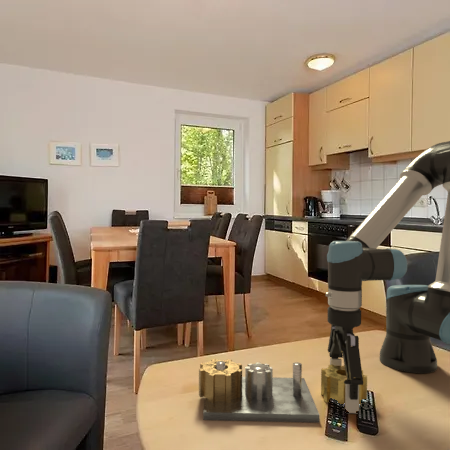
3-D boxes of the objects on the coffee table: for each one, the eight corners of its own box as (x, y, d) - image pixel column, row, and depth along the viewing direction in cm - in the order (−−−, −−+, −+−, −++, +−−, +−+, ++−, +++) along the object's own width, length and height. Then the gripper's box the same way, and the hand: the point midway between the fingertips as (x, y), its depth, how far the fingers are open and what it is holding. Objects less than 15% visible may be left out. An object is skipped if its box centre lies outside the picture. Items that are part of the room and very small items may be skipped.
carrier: (304, 384, 95) (304, 350, 95) (319, 422, 77) (319, 381, 77) (209, 382, 96) (209, 349, 96) (203, 419, 78) (203, 378, 78)
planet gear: (358, 389, 92) (358, 364, 92) (372, 409, 83) (372, 382, 82) (317, 388, 93) (318, 364, 93) (327, 408, 83) (327, 381, 83)
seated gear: (241, 383, 91) (241, 359, 91) (242, 403, 82) (242, 376, 81) (201, 382, 92) (201, 358, 92) (197, 402, 82) (197, 375, 82)
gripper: (316, 296, 100) (315, 375, 100) (343, 321, 75) (341, 426, 75) (345, 296, 100) (344, 375, 100) (380, 321, 75) (379, 427, 75)
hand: (343, 397), depth 88 cm, fingers open, 13 cm apart
